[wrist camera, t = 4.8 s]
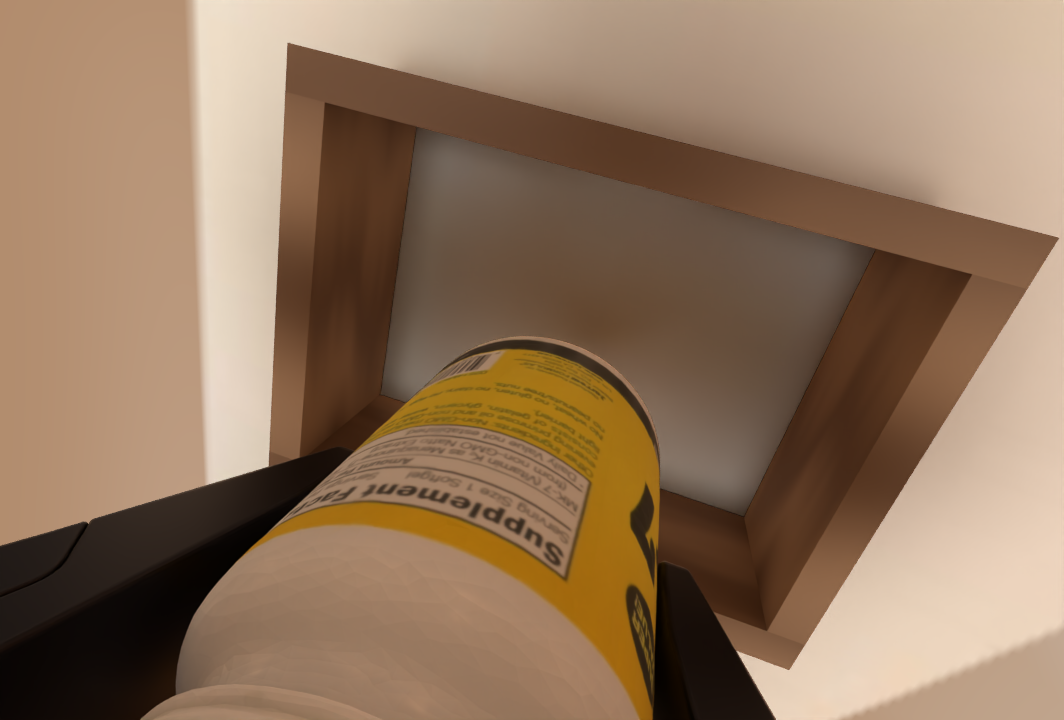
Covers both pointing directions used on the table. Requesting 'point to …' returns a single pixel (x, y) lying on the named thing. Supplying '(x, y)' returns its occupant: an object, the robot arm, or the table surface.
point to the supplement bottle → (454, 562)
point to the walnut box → (690, 172)
